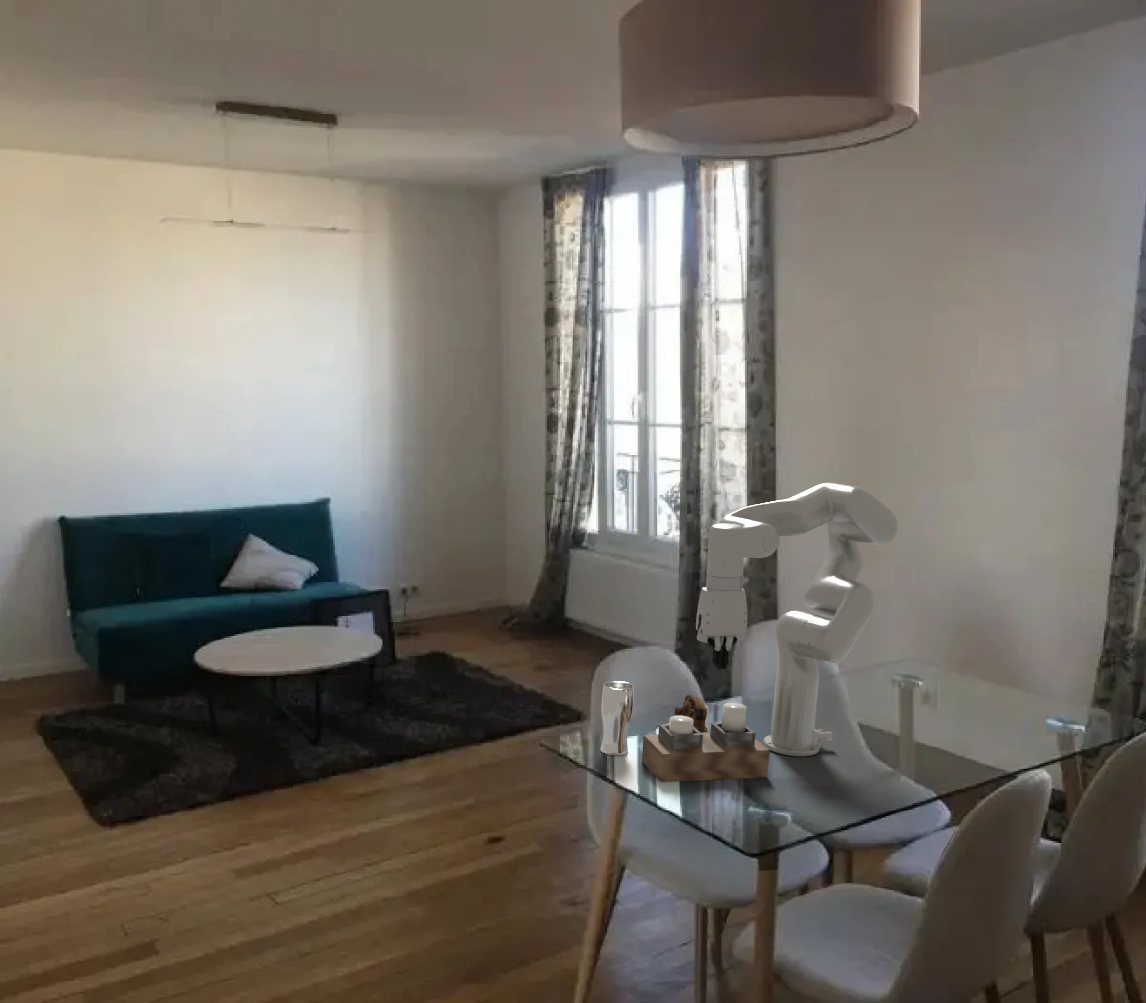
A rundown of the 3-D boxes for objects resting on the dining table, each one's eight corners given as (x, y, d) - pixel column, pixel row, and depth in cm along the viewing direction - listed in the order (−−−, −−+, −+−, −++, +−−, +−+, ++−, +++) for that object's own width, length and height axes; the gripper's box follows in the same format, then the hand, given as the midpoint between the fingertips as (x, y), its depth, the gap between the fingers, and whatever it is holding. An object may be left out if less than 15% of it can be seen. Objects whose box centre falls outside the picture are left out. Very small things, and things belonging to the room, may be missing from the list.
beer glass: (627, 758, 257) (632, 691, 255) (595, 754, 258) (600, 687, 256) (632, 748, 264) (636, 683, 262) (601, 744, 265) (605, 679, 263)
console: (743, 757, 262) (747, 718, 261) (767, 777, 251) (770, 736, 250) (641, 761, 256) (644, 721, 254) (660, 782, 244) (664, 740, 243)
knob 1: (686, 737, 254) (688, 715, 253) (695, 745, 249) (697, 722, 248) (664, 738, 252) (666, 715, 252) (673, 746, 248) (674, 723, 247)
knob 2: (739, 724, 257) (740, 702, 256) (748, 732, 252) (750, 709, 252) (717, 725, 256) (719, 703, 255) (727, 733, 251) (728, 710, 250)
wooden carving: (665, 728, 280) (668, 687, 278) (683, 727, 281) (686, 686, 280) (693, 752, 264) (697, 708, 263) (712, 751, 265) (716, 708, 264)
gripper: (750, 577, 254) (745, 660, 257) (684, 579, 250) (680, 663, 253) (764, 585, 247) (759, 670, 250) (697, 587, 243) (692, 674, 246)
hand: (719, 667), depth 251 cm, fingers closed
